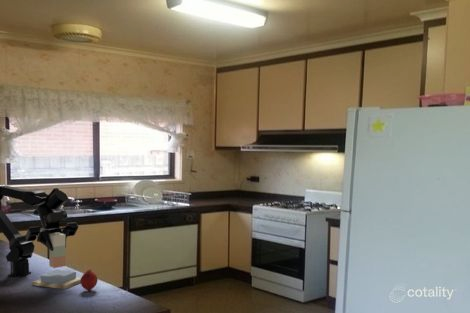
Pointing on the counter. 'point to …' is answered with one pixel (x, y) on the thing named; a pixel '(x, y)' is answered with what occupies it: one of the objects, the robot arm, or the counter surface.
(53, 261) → the brick column
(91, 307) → the counter surface
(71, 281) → the board
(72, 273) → the base brick
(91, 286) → the onion
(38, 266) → the counter surface
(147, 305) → the counter surface
